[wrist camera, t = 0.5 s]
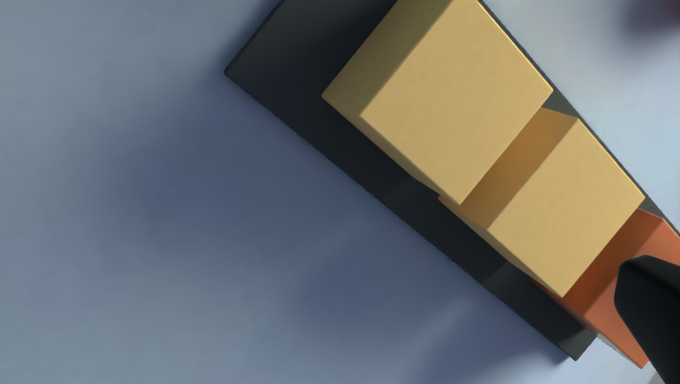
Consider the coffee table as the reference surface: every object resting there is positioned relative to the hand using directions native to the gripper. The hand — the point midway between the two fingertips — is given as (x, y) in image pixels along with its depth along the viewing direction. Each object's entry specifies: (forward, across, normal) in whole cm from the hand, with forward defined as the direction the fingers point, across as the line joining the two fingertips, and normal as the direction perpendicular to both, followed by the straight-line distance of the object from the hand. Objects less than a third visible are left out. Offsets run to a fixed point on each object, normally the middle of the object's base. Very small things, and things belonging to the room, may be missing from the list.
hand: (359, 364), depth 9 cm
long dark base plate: (+13, -10, +7) cm, 18 cm away
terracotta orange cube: (+12, -15, +12) cm, 23 cm away
